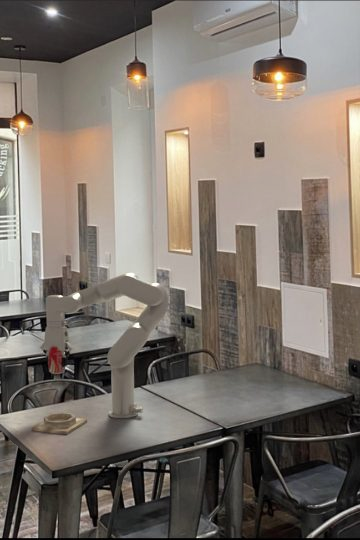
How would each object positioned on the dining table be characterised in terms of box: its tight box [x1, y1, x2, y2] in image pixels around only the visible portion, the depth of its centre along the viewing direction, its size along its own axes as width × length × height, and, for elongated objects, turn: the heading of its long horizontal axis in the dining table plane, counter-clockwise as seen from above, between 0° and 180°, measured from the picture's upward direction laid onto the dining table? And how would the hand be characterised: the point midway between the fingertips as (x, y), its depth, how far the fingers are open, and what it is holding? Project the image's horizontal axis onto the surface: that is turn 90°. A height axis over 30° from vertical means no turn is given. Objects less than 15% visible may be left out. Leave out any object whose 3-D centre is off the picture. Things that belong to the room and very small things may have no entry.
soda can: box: [47, 346, 66, 375], centre depth 280 cm, size 7×7×12 cm
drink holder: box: [31, 412, 88, 435], centre depth 266 cm, size 16×16×4 cm
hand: (57, 365), depth 280 cm, fingers closed on soda can, 6 cm apart
